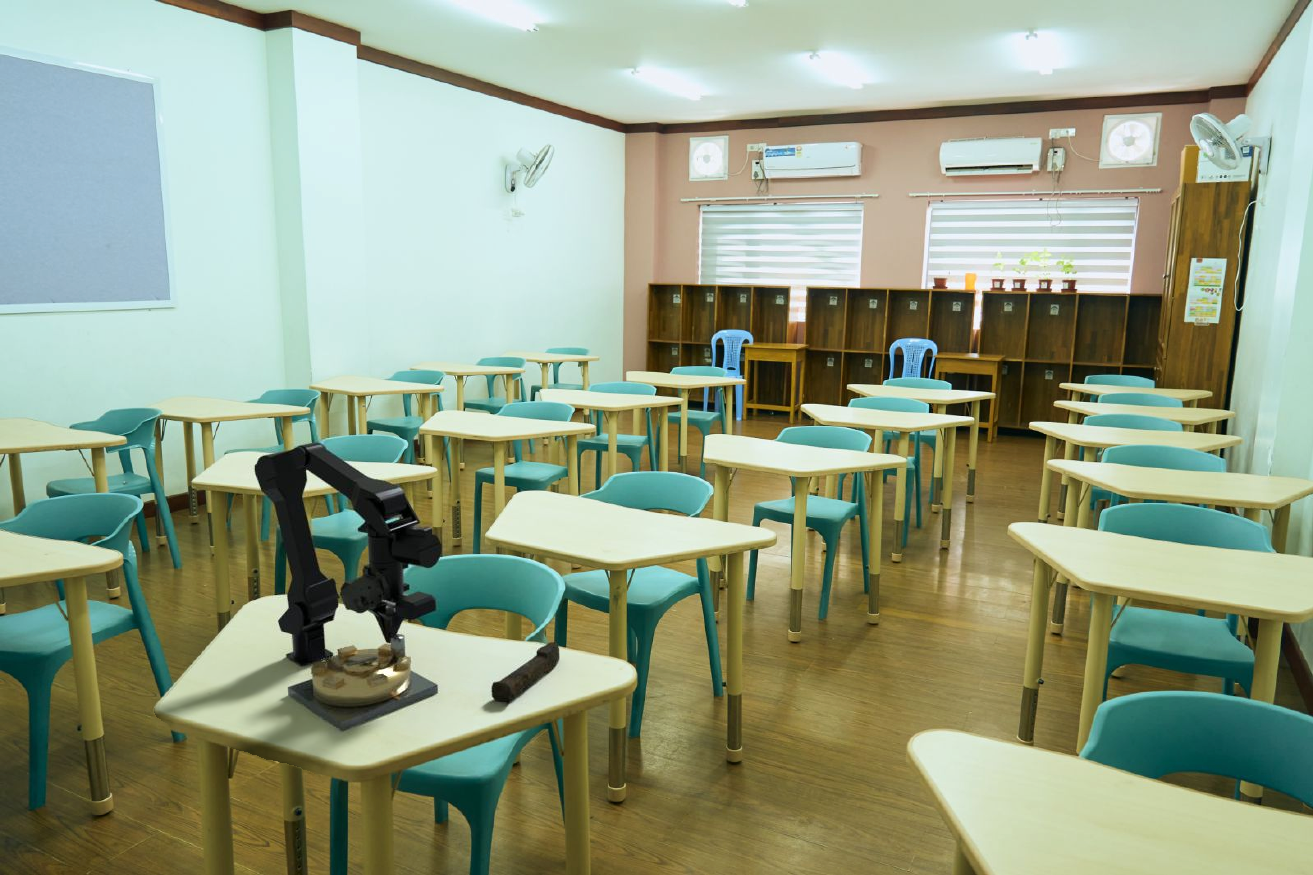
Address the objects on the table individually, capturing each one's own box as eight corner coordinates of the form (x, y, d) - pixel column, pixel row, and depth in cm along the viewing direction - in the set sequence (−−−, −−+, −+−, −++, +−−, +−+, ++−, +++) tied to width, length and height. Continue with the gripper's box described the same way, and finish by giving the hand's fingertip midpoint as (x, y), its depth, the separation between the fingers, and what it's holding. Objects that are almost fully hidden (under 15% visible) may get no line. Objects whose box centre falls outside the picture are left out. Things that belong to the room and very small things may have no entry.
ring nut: (331, 716, 142) (329, 675, 140) (300, 680, 154) (298, 642, 153) (426, 688, 151) (424, 649, 150) (389, 656, 164) (388, 620, 162)
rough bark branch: (509, 707, 149) (509, 681, 149) (490, 701, 151) (489, 676, 150) (571, 665, 166) (571, 641, 165) (553, 660, 168) (553, 637, 167)
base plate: (288, 695, 152) (287, 686, 152) (381, 662, 166) (381, 653, 165) (341, 731, 141) (341, 721, 140) (437, 692, 154) (437, 683, 153)
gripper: (312, 560, 153) (317, 645, 156) (385, 582, 143) (389, 672, 146) (364, 544, 162) (369, 625, 165) (437, 563, 152) (440, 649, 155)
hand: (389, 642), depth 157 cm, fingers closed
